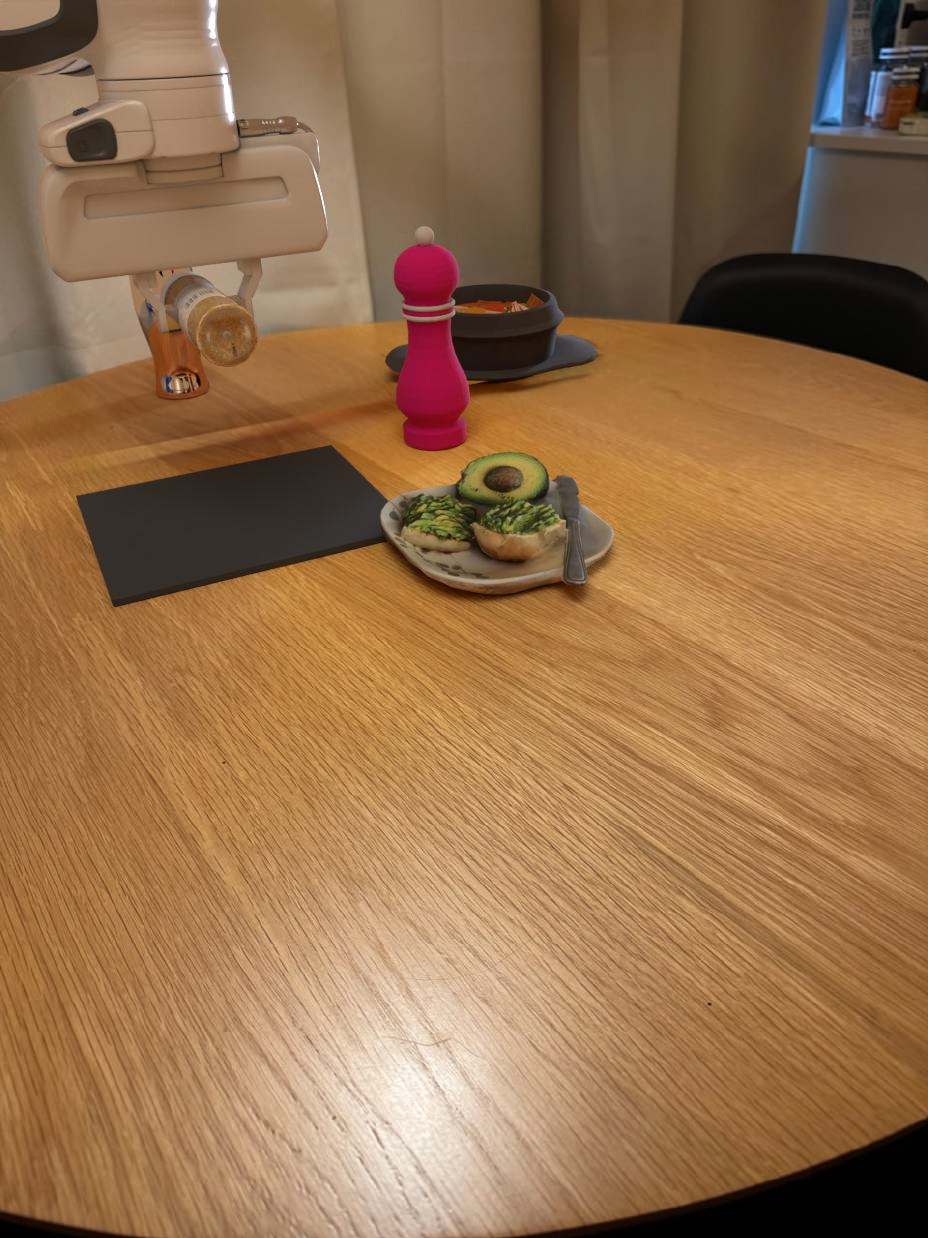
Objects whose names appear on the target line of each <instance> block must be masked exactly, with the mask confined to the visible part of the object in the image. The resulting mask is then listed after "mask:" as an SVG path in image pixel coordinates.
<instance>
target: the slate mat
mask: <svg viewBox="0 0 928 1238" xmlns="http://www.w3.org/2000/svg"><path fill="white" fill-rule="evenodd" d="M75 497H76V501H77V504H78V508H79V510H80V513H81V516H82V519H83V522H84V525H85V528H86V530H87V533H88V536H89V540H90V542H91V546H92V548H93V551H94V554H95V557H96V559H97V563H98V566H99V569H100V571H101V574H102V578H103V580H104V583H105V586H106V589H107V592H108V596H109V597H110V601H111V604H112V607H119V606H122V605H123V606H124V605H127V604H131V603H135V602H139V601H143V600H148V599H151V598H156V597H160V596H164V595H168V594H169V595H170V594H172V593H176V592H180V591H185V590H190V589H193V588H197V587H201V586H206V585H210V584H213V583H214V584H215V583H218V582H222V581H226V580H230V579H234V578H238V577H243V576H246V575H251V574H255V573H259V572H264V571H267V570H271V569H276V568H279V567H284V566H288V565H293V564H296V563H300V562H305V561H308V560H314V559H317V558H321V557H325V556H326V557H327V556H329V555H333V554H337V553H342V552H346V551H350V550H351V551H352V550H356V549H358V548H362V547H363V548H364V547H366V546H371V545H375V544H378V543H383V542H388V541H387V540H386V538H385V536H384V534H383V532H382V529H381V524H380V512H381V510H382V509H383V507H384V506H385V504H386V503H387V502H388V501H389V499H387V498H386V497H385V495H383V494H382V493H381V492H380V490H379V489H377V488H376V487H375V486H374V485H373V484H372V483H371V482H370V481H369V480H368V479H367V478H366V477H365V476H364V475H363V474H362V473H361V472H360V471H359V470H358V469H357V468H356V467H355V466H354V465H353V464H352V463H351V462H350V461H349V460H347V458H346V457H344V455H342V453H341V452H339V450H337V449H336V448H335V447H334V446H333V445H332V444H329V445H328V444H327V445H324V446H318V447H313V448H309V449H308V448H307V449H304V450H298V451H293V452H287V453H283V454H279V455H274V456H273V455H272V456H268V457H263V458H258V459H253V460H248V461H243V462H238V463H233V464H229V465H223V466H219V467H214V468H207V469H202V470H198V471H193V472H188V473H184V474H177V475H173V476H168V477H162V478H158V479H153V480H148V481H143V482H138V483H133V484H128V485H127V484H126V485H122V486H118V487H113V488H108V489H107V488H106V489H103V490H99V491H98V490H97V491H93V492H88V493H83V494H79V495H78V494H77V495H76V496H75Z"/></svg>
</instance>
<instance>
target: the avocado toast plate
mask: <svg viewBox="0 0 928 1238" xmlns="http://www.w3.org/2000/svg"><path fill="white" fill-rule="evenodd" d="M460 476H461V477H460V479H458V480H457V482H456V483H453V484H447V485H439V486H438V485H437V486H434V487H426V488H419V489H414V490H410V491H407V492H403V493H400V494H398V495H395V496H393V497H392V498H390V499H388V502H387V503H386V504H385V506H384V507H383V509H382V510H381V512H380V524H381V529H382V532H383V534H384V536H385V538H386V540H387V541H386V542H388V543H389V544H390V545H392V546H393V547H395V548H396V549H397V550H399V552H401V554H402V556H404V558H405V559H406V560H407V562H409V563H410V564H412V565H413V566H414V567H416V568H417V569H419V570H420V571H421V572H423V574H424V575H425V576H427V577H429V578H431V579H433V580H435V581H438V582H439V583H442V584H445V585H446V586H448V587H451V588H453V589H456V590H462V591H467V592H472V593H478V594H483V595H484V594H485V595H509V594H515V593H519V592H522V591H526V590H530V589H533V588H536V587H542V586H545V585H551V584H557V583H562V582H563V583H564V584H566V585H568V586H575V587H582V586H585V585H586V584H588V582H589V578H588V577H589V576H588V570H587V568H589V567H591V566H592V565H593V564H595V563H596V562H598V561H600V560H602V559H603V558H604V557H605V556H606V554H607V552H609V550H610V548H611V547H612V545H613V542H614V539H615V538H614V537H615V532H614V529H613V527H611V525H609V524H608V522H607V521H605V520H604V519H603V518H601V517H600V516H599V515H597V514H596V513H594V512H593V511H592V510H591V509H589V508H588V507H587V506H586V505H584V504H583V503H581V502H580V498H579V496H578V495H579V494H580V490H579V486H578V484H577V481H576V480H575V478H573V477H572V476H567V475H564V474H558V475H556V477H555V478H554V479H550V474H549V473H548V469H547V467H546V466H545V465H544V463H542V462H541V461H540V460H539V459H538V458H537V457H535V456H533V455H530V454H527V453H523V452H515V451H505V452H503V451H502V452H497V453H496V452H495V453H492V454H491V453H490V454H488V455H484V456H480V457H478V458H476V459H474V460H472V461H470V462H469V463H467V465H466V467H465V468H464V469H462V470H460Z"/></svg>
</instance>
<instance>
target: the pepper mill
mask: <svg viewBox="0 0 928 1238" xmlns="http://www.w3.org/2000/svg"><path fill="white" fill-rule="evenodd" d="M434 241H435V233H434V231H433V229H432V228H431V227H430V226H427V225H422V226H419V227H418V228H417V229H416V230H415V231H414V242H415V243H416V244H414V245H412V246H410V247H408V248H405V249H404V250H403V251H402V252H401V253H400V254H399V255H398V257H397V259H396V260H395V263H394V267H393V282H394V285H395V288H396V290H397V291H398V292H399V294H401V296H402V297H403V300H401V302H400V306H401V309H402V312H401V318H403V319H404V320H406V327H407V344H408V348H407V355H406V358H405V362H404V365H403V367H402V370H401V373H399V376H398V379H397V382H396V388H395V403H396V406H397V408H398V410H399V411H400V412H401V414H402V415H403V416H404V417H406V419H405V420H404V421H403V423H402V433H403V442H404V443H405V444H406V445H407V446H409V447H411V448H413V449H417V450H422V451H441V450H447V449H452V448H456V447H458V446H459V445H461V444H463V443H464V442H465V441H466V439H467V421H466V419H465V418H464V417H463V416H462V414H463V413H464V412H466V410H467V408H468V407H469V404H470V401H471V394H470V393H471V392H470V385H469V383H468V380H467V379H466V376H465V373H464V371H463V369H462V367H461V365H460V363H459V361H458V358H457V356H456V354H455V351H454V347H453V343H452V337H451V317H453V316H454V315H455V310H454V304H455V300H454V299H453V298H451V294H452V293H453V291H454V290H455V289H456V288H457V287H458V285H459V283H460V268H459V264H458V261H457V259H456V257H455V256H454V255H453V253H452V252H451V251H450V250H448V249H447V248H446V247H444V246H442V245H438V244H435V243H434Z"/></svg>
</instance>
